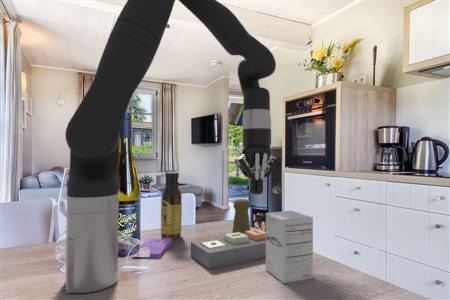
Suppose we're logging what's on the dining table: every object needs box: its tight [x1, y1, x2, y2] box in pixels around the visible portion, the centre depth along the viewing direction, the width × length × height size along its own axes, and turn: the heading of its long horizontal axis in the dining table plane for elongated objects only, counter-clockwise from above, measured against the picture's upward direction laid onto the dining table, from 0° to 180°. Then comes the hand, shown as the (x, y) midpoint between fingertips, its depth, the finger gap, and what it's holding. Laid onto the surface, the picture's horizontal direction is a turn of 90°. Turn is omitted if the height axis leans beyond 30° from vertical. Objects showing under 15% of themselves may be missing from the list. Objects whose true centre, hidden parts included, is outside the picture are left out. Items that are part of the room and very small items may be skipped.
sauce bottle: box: [160, 171, 183, 240], centre depth 89 cm, size 7×6×20 cm
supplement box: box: [265, 210, 314, 284], centre depth 61 cm, size 7×7×13 cm
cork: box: [231, 198, 251, 234], centre depth 93 cm, size 6×6×11 cm
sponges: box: [136, 237, 173, 259], centre depth 77 cm, size 7×13×2 cm, turn 177°
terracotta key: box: [245, 228, 266, 241], centre depth 76 cm, size 4×4×2 cm
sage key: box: [223, 232, 248, 245], centre depth 73 cm, size 4×4×2 cm
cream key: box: [201, 240, 226, 249], centre depth 70 cm, size 4×4×2 cm
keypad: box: [190, 233, 266, 270], centre depth 73 cm, size 20×10×4 cm, turn 120°
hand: (257, 193), depth 76 cm, fingers closed
